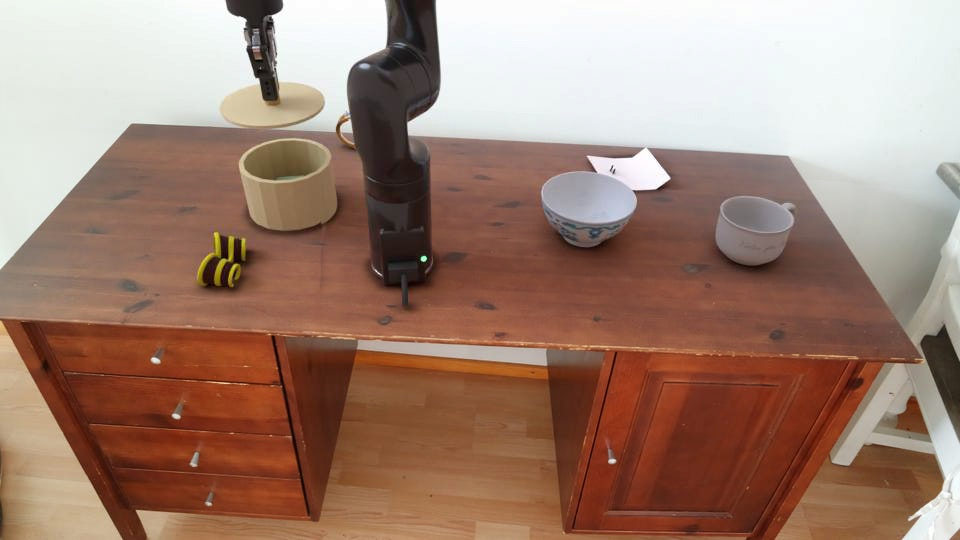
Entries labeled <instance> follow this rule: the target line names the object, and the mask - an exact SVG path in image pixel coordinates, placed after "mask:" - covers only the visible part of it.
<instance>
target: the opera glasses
mask: <svg viewBox="0 0 960 540" xmlns="http://www.w3.org/2000/svg"><path fill="white" fill-rule="evenodd" d="M212 241H213V242H212V243H213V244H212V245H213V252H211V253H209V254H207V256H205V258H204V259H203V260H202V262H201V264H200V265H199V268H198V270H197V277H196V279H197V282H198V284H199V285H200V286H202V287H207V286H208V285H215V286H216V287H222V286H224V287H227V286H228V287H230V288H234V286H235V283H233V279H234V281H235V280H238V279H239V278H240V276H241V272H242V267H241V265H240V264H239V263H234V262H235V261H237V262H239V261H242V262H246V251H247V238H244V237H242V238H241V239H240V238H239V237H238V238H236V237H235V236H232V235H229V236H227V235H222V234H220V233H219V232H218V231H215V232H214V233H213V237H212Z"/></svg>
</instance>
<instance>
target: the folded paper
mask: <svg viewBox="0 0 960 540" xmlns="http://www.w3.org/2000/svg"><path fill="white" fill-rule="evenodd" d="M586 157H587V159H588V160H589V162H590V163H591V165H592V167H593V168H594V170H595V171H596V173H600V174H604V175H608V176H611V177H613V178H616V179H618V180H620V181H621V182H623V183H625V184H626V185H627V186H628V187H630V188H631V190H632V191H651V190H657V189H658V188H660V187H661V186H663V185H664V184H666V183H667V182H668V181H669V180H671V176H670V175H669V173H667V171H666V170H665V169H664V167H663V166H661V163H659V161H658V160H657V159H656V158H655V157H654V155H653V153H652V152H651V151H650V150H649V149H648V147H644V148H643V149H642V150H641V151H639V152H638V153H637V154H635V155H634V156H632V157H619V158H618V157H616V158H613V157H605V156H604V157H603V156H594V155H586Z"/></svg>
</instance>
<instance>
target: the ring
mask: <svg viewBox="0 0 960 540" xmlns="http://www.w3.org/2000/svg"><path fill="white" fill-rule="evenodd" d="M350 120H351V118H350V112H349V110H345V112H344V113H343V114H342V115H340V117H339V119H338V121H337V123H336V124H335V133H336V135H337V138H338V139H339V140H340V141H341V142H342V143H343V144H344V145H345V146H347V147H349V148H351V149H354V150H356V147H355V143H354V142H352V141H350V140H348V139H347V138H345V137H344V135H343V134H342V130H341V129H342V128H341V127H342V125H343V124H344V123H347V122H349V121H350Z"/></svg>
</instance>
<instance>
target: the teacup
mask: <svg viewBox="0 0 960 540" xmlns="http://www.w3.org/2000/svg"><path fill="white" fill-rule="evenodd" d="M797 212H798V209H797V206H796V205H795V204H794V203H791V202H785V203H783V204H780V203H778V202H776V201H774V200H771V199H767V198H764V197H760V196H753V195H740V196H733V197H730V198H727V199H725V200H724V201H723V202H722V203H721V205H720V207H719V215H718V219H717V224H716V228H715V242H716V246H717V247H718V250H720V251H721V252H722V253H723V254H724V255H725V256H726V257H727V258H728V259H729V260H731V261H733V262H734V263H737V264H740V265H744V266H760V265H763V264H767V263H770V262H773V261H774V260H776V259H777V258H778V257H779V256H780V255H781V254H782V252H783V251H784V248H785V247H786V244H787V243H788V239H789V235H790V233H791V229H792V228H793V226H794V223H795V217H796V216H797Z"/></svg>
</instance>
